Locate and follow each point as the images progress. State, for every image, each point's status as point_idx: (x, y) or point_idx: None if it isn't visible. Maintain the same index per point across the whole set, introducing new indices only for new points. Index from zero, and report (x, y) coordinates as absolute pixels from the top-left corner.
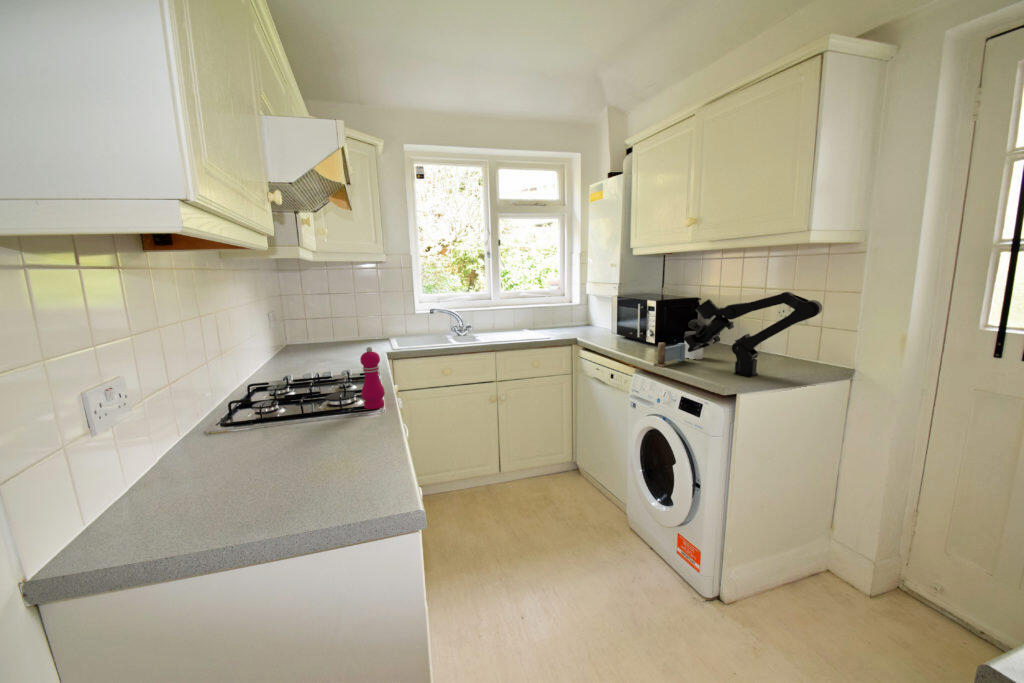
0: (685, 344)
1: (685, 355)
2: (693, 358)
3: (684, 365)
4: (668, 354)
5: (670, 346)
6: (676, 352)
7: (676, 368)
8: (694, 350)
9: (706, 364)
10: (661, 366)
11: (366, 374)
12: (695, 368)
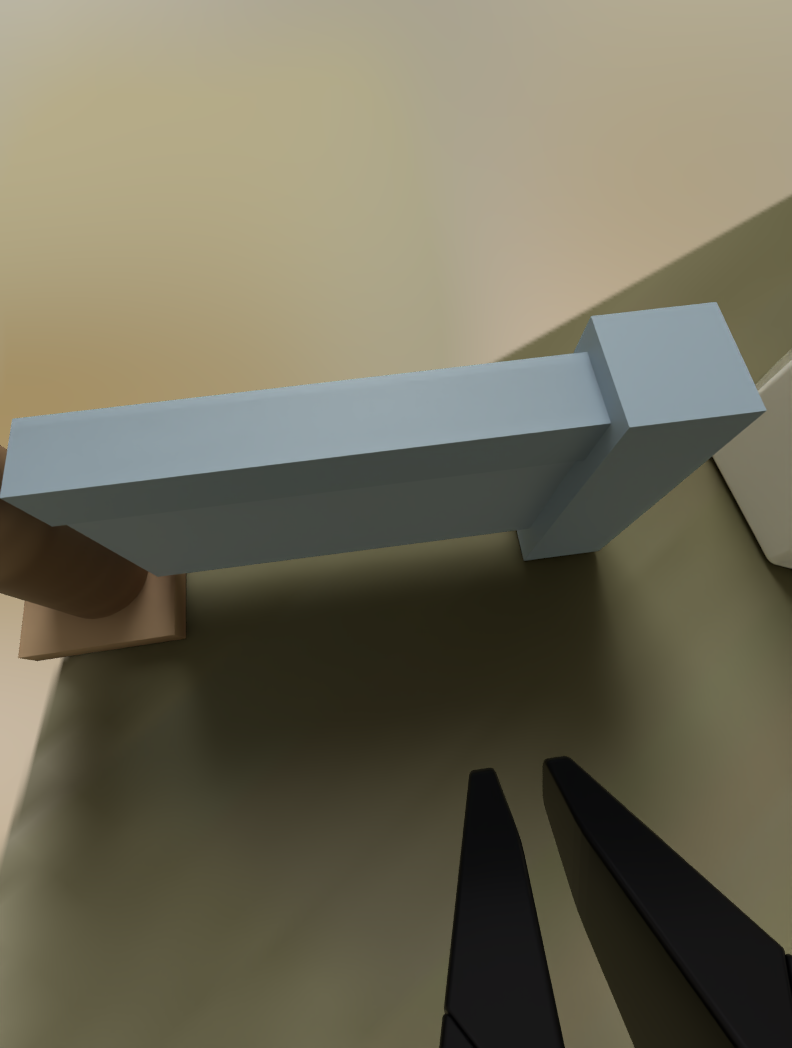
0: None
1: None
2: (776, 555)
3: (386, 753)
4: (189, 532)
5: (276, 400)
6: (430, 500)
7: (126, 835)
8: (597, 951)
9: (749, 912)
10: (30, 648)
11: None
12: (367, 1036)
